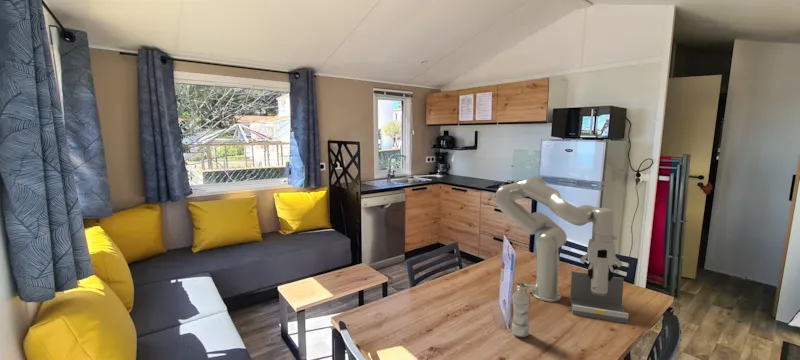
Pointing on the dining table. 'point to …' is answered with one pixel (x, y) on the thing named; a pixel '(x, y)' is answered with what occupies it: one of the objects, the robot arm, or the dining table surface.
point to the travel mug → (600, 274)
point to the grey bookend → (597, 299)
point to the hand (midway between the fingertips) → (599, 278)
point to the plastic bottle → (521, 311)
